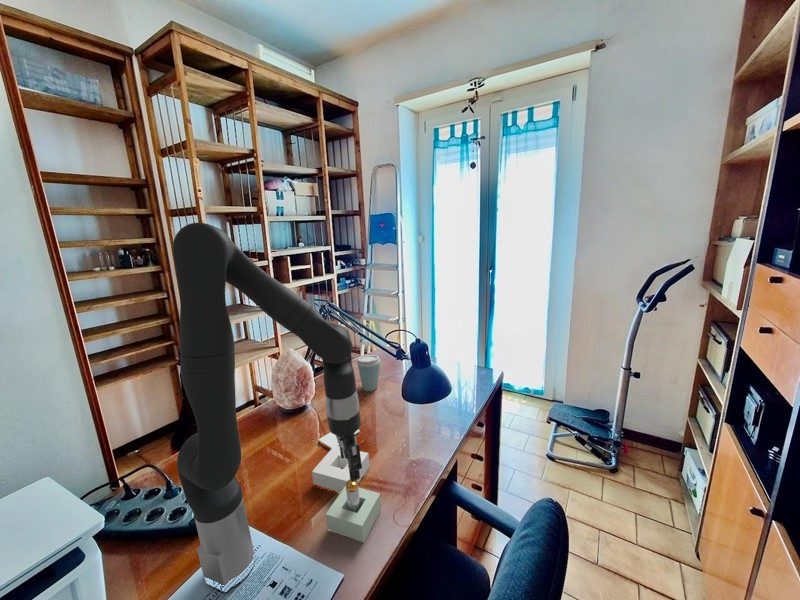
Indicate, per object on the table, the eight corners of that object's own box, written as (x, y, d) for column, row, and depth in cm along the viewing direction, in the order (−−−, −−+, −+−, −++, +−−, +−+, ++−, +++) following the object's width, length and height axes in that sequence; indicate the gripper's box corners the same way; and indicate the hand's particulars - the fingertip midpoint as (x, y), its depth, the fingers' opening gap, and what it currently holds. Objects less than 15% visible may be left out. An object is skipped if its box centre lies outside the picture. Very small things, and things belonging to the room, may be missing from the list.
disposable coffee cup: (355, 386, 155) (352, 356, 151) (376, 380, 160) (374, 350, 156) (364, 396, 146) (361, 364, 142) (386, 389, 150) (384, 358, 147)
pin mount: (363, 543, 80) (362, 525, 79) (327, 530, 83) (325, 514, 82) (381, 509, 89) (380, 493, 88) (348, 499, 92) (346, 484, 91)
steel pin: (357, 526, 84) (354, 489, 82) (347, 523, 85) (343, 486, 83) (363, 516, 87) (360, 480, 84) (353, 513, 88) (349, 477, 85)
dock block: (350, 496, 93) (348, 481, 92) (313, 486, 98) (311, 471, 97) (369, 467, 104) (368, 453, 103) (336, 458, 109) (334, 445, 107)
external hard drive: (318, 443, 117) (345, 426, 126) (333, 452, 112) (360, 433, 121) (317, 439, 117) (344, 422, 126) (332, 448, 112) (360, 429, 121)
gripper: (320, 399, 84) (328, 455, 88) (334, 430, 71) (342, 494, 75) (350, 391, 87) (356, 445, 91) (368, 420, 74) (374, 482, 78)
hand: (350, 467), depth 83 cm, fingers open, 8 cm apart
